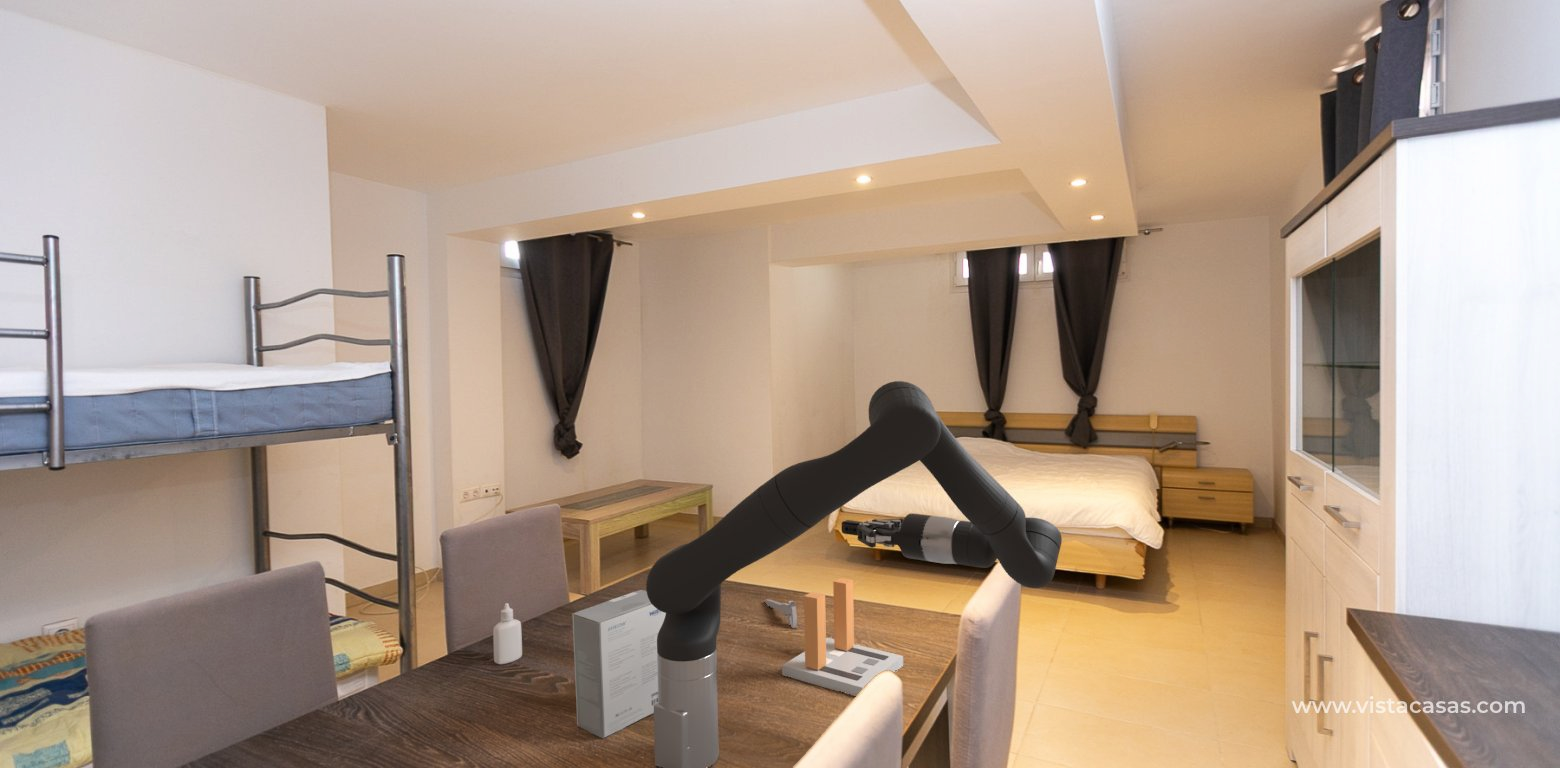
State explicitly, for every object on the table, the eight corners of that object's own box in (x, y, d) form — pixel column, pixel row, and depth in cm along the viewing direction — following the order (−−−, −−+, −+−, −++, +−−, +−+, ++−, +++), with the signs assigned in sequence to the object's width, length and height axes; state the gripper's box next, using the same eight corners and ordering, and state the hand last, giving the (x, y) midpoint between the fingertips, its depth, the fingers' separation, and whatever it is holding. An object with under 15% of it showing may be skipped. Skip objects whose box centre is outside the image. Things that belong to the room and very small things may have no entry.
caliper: (797, 629, 167) (796, 603, 167) (793, 630, 167) (792, 603, 167) (767, 602, 186) (766, 578, 186) (763, 603, 186) (762, 579, 186)
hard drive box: (645, 693, 136) (642, 588, 135) (672, 704, 131) (670, 596, 130) (574, 726, 124) (571, 611, 123) (602, 740, 119) (598, 621, 118)
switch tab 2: (846, 651, 148) (845, 583, 148) (834, 648, 150) (833, 581, 150) (854, 646, 151) (853, 580, 150) (841, 643, 152) (840, 577, 152)
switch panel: (862, 698, 132) (862, 687, 132) (782, 675, 143) (782, 664, 142) (903, 665, 146) (903, 655, 146) (827, 646, 156) (827, 637, 156)
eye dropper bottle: (493, 658, 153) (492, 602, 153) (521, 653, 156) (520, 598, 155) (494, 666, 149) (492, 608, 149) (523, 661, 151) (521, 604, 151)
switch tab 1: (818, 670, 139) (817, 598, 139) (805, 666, 141) (804, 595, 141) (826, 664, 142) (825, 594, 141) (813, 661, 144) (812, 591, 143)
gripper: (948, 509, 126) (860, 499, 136) (916, 524, 115) (823, 512, 125) (949, 552, 126) (861, 539, 136) (916, 570, 115) (824, 555, 125)
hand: (843, 526), depth 130 cm, fingers closed
